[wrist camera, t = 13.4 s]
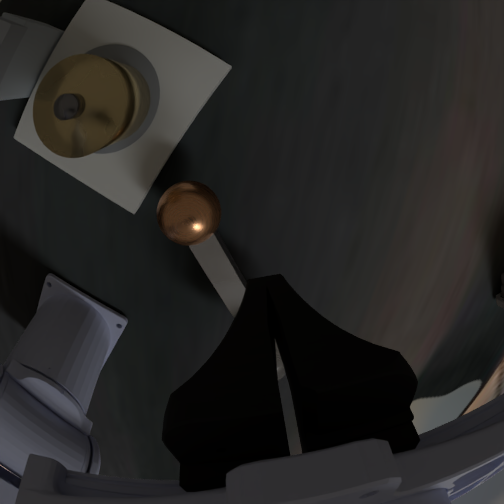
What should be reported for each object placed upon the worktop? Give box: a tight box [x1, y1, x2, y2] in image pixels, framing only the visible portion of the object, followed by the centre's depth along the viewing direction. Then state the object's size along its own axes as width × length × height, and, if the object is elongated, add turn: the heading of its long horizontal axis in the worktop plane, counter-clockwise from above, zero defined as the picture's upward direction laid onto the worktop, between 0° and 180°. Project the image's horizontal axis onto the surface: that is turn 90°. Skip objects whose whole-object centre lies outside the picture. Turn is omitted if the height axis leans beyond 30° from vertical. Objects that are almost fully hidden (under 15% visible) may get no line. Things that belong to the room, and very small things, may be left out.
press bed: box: [0, 0, 232, 214], centre depth 13 cm, size 11×14×7 cm
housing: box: [33, 54, 150, 158], centre depth 13 cm, size 5×5×6 cm
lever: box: [157, 181, 247, 318], centre depth 19 cm, size 10×4×4 cm, turn 25°
